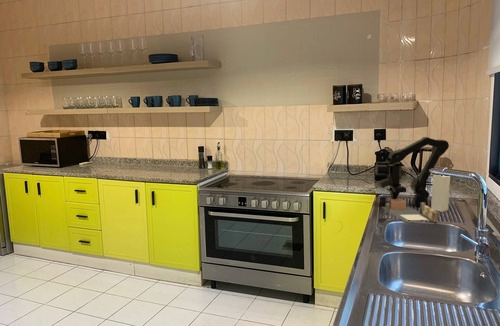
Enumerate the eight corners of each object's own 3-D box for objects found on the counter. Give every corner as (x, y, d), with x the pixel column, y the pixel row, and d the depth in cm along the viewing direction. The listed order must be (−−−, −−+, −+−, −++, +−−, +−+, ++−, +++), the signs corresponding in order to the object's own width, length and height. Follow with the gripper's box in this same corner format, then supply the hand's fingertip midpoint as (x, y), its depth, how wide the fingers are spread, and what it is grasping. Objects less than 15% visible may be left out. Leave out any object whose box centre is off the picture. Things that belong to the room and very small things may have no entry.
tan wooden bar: (421, 213, 204) (421, 204, 204) (425, 213, 204) (426, 204, 203) (433, 221, 189) (433, 212, 188) (437, 221, 189) (438, 212, 188)
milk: (448, 210, 212) (451, 170, 209) (440, 212, 209) (443, 170, 206) (437, 208, 218) (440, 168, 215) (430, 209, 215) (433, 169, 212)
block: (401, 207, 219) (401, 199, 219) (406, 209, 213) (406, 201, 213) (390, 207, 219) (390, 199, 218) (395, 209, 213) (395, 201, 212)
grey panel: (409, 207, 221) (409, 206, 221) (437, 221, 191) (437, 221, 191) (380, 207, 220) (380, 206, 220) (405, 222, 190) (405, 221, 190)
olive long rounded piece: (423, 213, 207) (424, 202, 206) (425, 214, 205) (426, 203, 204) (384, 214, 206) (385, 202, 205) (386, 215, 203) (386, 203, 203)
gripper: (374, 171, 229) (373, 198, 231) (386, 177, 211) (385, 205, 213) (393, 171, 230) (392, 198, 232) (407, 177, 211) (406, 205, 213)
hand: (393, 201), depth 222 cm, fingers closed
